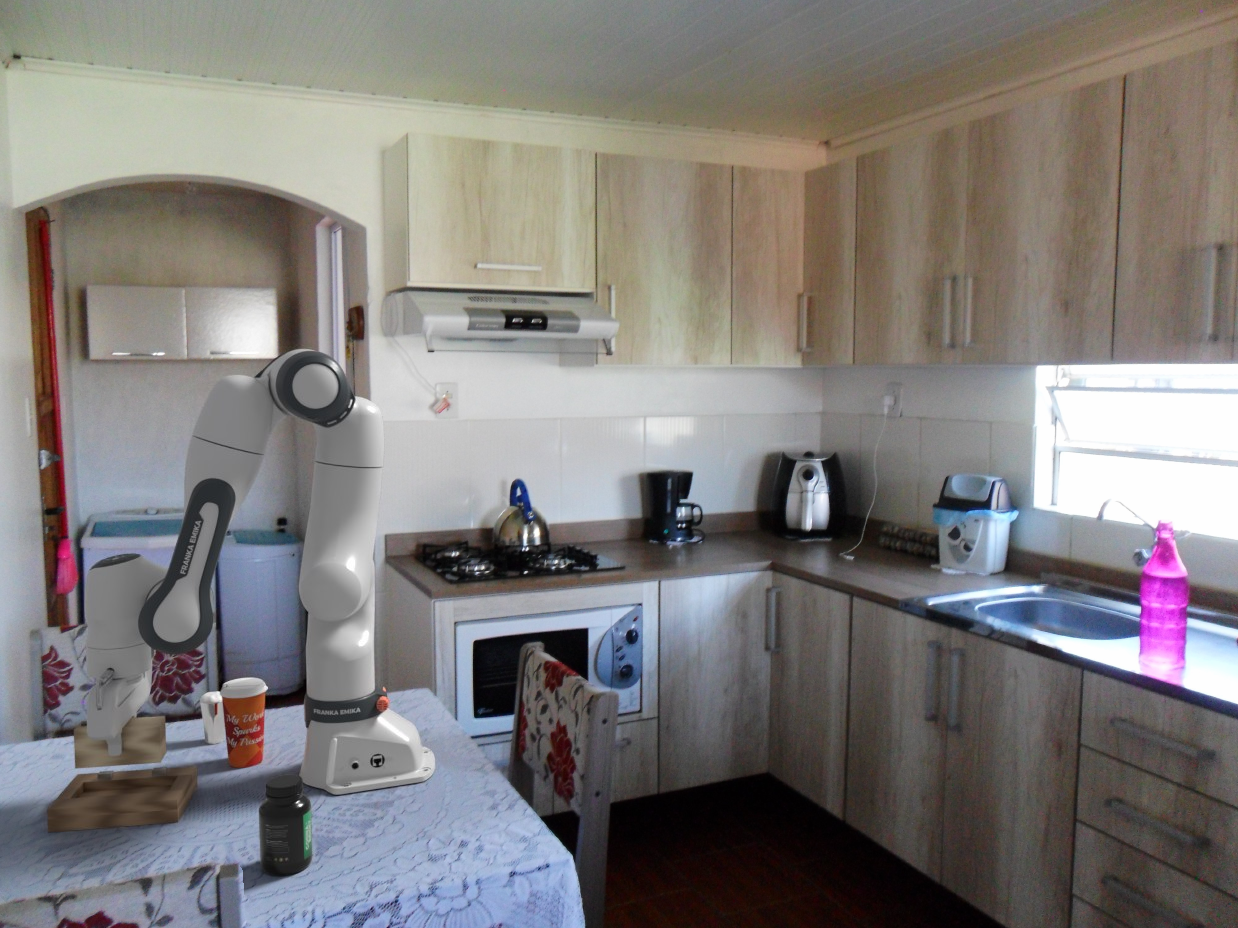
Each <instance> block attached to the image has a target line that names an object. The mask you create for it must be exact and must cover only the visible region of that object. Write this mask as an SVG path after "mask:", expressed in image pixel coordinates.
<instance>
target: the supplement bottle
mask: <svg viewBox="0 0 1238 928" xmlns="http://www.w3.org/2000/svg"><path fill="white" fill-rule="evenodd" d="M264 795H265V799H264V800H263V801H262V802H261V803H260V805H259V809H258V830H259V831H258V832H259V833H258V834H259V835H258V836H259V860H260V861H259V862H260V868H261V870H262V871H263V873H265V874H267V875H270V876H276V877H282V876H285V877H286V876H290V875H294V874H298V873H300V872H302V871H304V870H305V869H306V868H308V867H309V866H310V864H311V863H312V861H313V831H312V830H313V829H312V828H313V827H312V826H313V824H312V802H311V800H310V798H309V797H308V796H307V795H305V794H304V782H303V779H302V777H301V776H299V774H292V773H287V774H279V775H276V776H273V777H271V778H270V779H268V780H266V782H265V793H264Z"/></svg>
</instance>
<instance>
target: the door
mask: <svg viewBox="0 0 1238 928" xmlns="http://www.w3.org/2000/svg"><path fill="white" fill-rule="evenodd" d="M166 730H167V729H166V715H160V716H145V717H143V716H142V717H136V718H131V719H130V720H129V721H128V722H127V723H126V725H125V726H124V727H123V728H122V733H121V738H122V741H124V746H123V747H124V750H123V751H122V753H121V754H120V755H119V756H110V755H109V754H108V744H107V742H106V740H90V739H89V737H88V735H87V720H81V721H80V722H79V723H78V725H77V726H76V727H75V728H74V729H73V745H74V746H73V748H74V749H73V750H74V768H75V769H88V768H103V767H104V768H105V767H117V766H130V765H131V766H133V765H147V764H160V763H162V761H163V760H164V758H165V755H166V754H167V734H166V733H167V731H166Z"/></svg>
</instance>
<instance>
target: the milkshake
mask: <svg viewBox="0 0 1238 928" xmlns="http://www.w3.org/2000/svg"><path fill="white" fill-rule="evenodd" d="M199 704H200V710H201V716H202V725H203V733H204V734H203V735H204V742H205V743H206V744H208V745H216V744H220V743H223V742H224V741H225V735H226V732H225V722H224V712H223V702H222V696H221V695H220V691H208V692H205V693H204V694H202V695H201V697H200V699H199Z"/></svg>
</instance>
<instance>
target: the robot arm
mask: <svg viewBox="0 0 1238 928" xmlns="http://www.w3.org/2000/svg"><path fill="white" fill-rule="evenodd" d="M287 417H291V418H297V419H302V420H305V421H306V422H307V421H308V422H310V423H311V424H312V425H313V427H314V430H315V436H316V447H315V455H314V464H313V473H312V474H313V477H312V484H311V497H310V506H309V507H310V508H309V513H308V519H307V525H306V532H305V537H304V544H303V551H302V557H301V564H300V572H299V581H298V593H299V597H300V601H301V603H302V606H303V608H304V609H305V610H306V611H307V612H308V613H307V631H306V633H307V634H306V642H305V643H306V644H305V660H306V661H305V663H306V664H305V665H306V666H305V667H306V669H305V670H306V692H305V695H304V700H303V719H304V724H305V728H306V733H305V734H306V735H305V736H306V737H305V745H304V753H303V758H302V763H301V766H300V771H299V774H298V775H299V776H301V777H302V779H303V784H305V785H307V786H310V787H314V788H318V789H322V790H325V791H327V792H328V793H329V794H332V795H336V796H337V795H345V794H351V793H357V792H364V791H370V790H371V791H373V790H376V789H377V790H378V789H384V788H389V787H390V788H391V787H396V786H403V785H409V784H416V783H422V782H425V781H426V780H428V779H430V777H432V775H433V774H434V772H435V770H436V759H435V758H436V757H435V754H434V752H433V751H432V749H430V748H429V747H426V746H425V745H424V746H423V745H422V744H423V743H422V740H421V735H420V734H419V731H418V728H417V727H416V726H415V724H414V723H413V722H411V721H409V720H408V719H406V718H404V717H403V716H401V715H400V714H398V713H397V712H395V711H393V710H391V709H390V708H389V706H390V699H389V698H388V693H387V690H386V688H385V687H384V686H383V687H382V689H381V688H380V687H379V686H376V682H375V681H376V677H375V674H376V673H375V615H376V613H375V612H376V611H375V610H376V609H375V607H376V605H375V604H376V568H375V567H376V566H375V561H374V551H375V546H376V545H375V543H376V537H377V536H376V535H377V528H378V520H379V516H380V515H379V514H380V504H381V493H382V483H383V474H384V462H385V461H384V460H385V427H384V419H383V418H384V416H383V413H382V410H381V408H380V407H379V406H378V405H377V404H376V403H374V402H373V401H372V400H370V399H367V398H365V397H361V396H356V395H355V394H354V391H353V389H352V387H351V385H350V382H349V381H348V377H347V376H346V373H345V371H344V370H343V367H341V365H340V364H339V363H338V362H337V360H335V359H334V357H331V356H330V355H329V354H326V353H324V352H321V351H317V350H316V349H315V350H313V349H310V348H308V349H307V348H296V349H293V350H290V351H286V352H283V353H281V354H280V355H278V356H276V357H275V358H273V360H271V361H270V362H269V363H268V364H267V365H266V366H265V367H264V368H262V369H261V370H260V371H259V372H258V373H257V374H256V375H254V376H250V375H245V374H230V375H225V376H223V377H221V378H219V379H218V380H217V381H216V382H215V383H214V385H213V387H212V388H211V389H210V391H209V393H208V395H207V397H206V399H205V401H204V403H203V406H202V407H201V410H200V412H199V415H198V417H197V419H196V423H195V425H194V428H193V431H192V435H191V438H190V441H189V445H188V449H187V454H186V458H185V464H184V465H185V467H184V477H183V478H184V479H183V480H184V482H183V488H184V489H183V490H184V491H183V492H184V493H183V494H184V495H183V497H184V499H183V500H184V501H183V516H182V521H181V526H180V529H179V532H178V536H177V540H176V544H175V546H174V549H173V553H172V556H171V559H170V562H169V566H168V567H166V566H163V565H161V564H158V563H155V562H153V561H151V560H150V559H147V557H145V556H143V555H142V554H140V553H122V554H117V555H113V556H109V557H105V558H104V559H101V560H99V561H97V562H95V563H94V564H93V565H91V567H90V568H89V570H88V571H87V573H86V576H85V577H86V578H85V585H84V603H83V604H84V618H85V621H86V624H87V630H88V631H87V636H86V639H85V659H86V660H85V661H86V663H85V665H86V675H87V676H88V677H89V678H92V679H95V681H96V683H95V684H94V685H93V686H92V687H91V688H90V690H89V691H88V696H87V705H86V721H87V735H88V737H89V739H90V740H106V742H107V744H108V754H109V755H110V756H119V755H120V754H121V753H122V751H123V750H124V747H123V746H124V741H122V738H121V733H122V728H123V727H124V726H125V725H126V723H127V722H128V721H129V720H130V719H131V718H137V714H138V713H137V712H138V711H139V709H140V708H141V707H142V706H143V704H144V703H145V702H147V700H148V699H149V697H150V694H151V689H152V679H153V678H152V677H153V676H152V675H153V658H154V657H155V656H156V651H157V652H158V653H160V654H164V655H170V656H171V655H174V656H175V655H183V654H187V653H190V652H192V651H194V650H196V649H197V648H199V647H201V646H202V645H203V644H204V643H205V641H207V639H208V638H209V636H210V634H211V633H212V630H213V626H214V611H213V610H214V599H215V598H214V591H213V589H212V583H213V579H214V575H215V571H216V568H217V566H218V561H219V558H220V555H221V552H222V548H223V545H224V543H225V538H226V535H227V533H228V531H229V528H230V525H231V523H232V522H233V520H234V518H235V516H236V514H237V513H238V511H239V509H240V508H241V506H242V504H243V503H244V501H245V500H246V497H247V496H248V494H249V492H251V489H252V487H253V485H254V483H255V481H256V479H257V477H258V474H259V472H260V469H261V467H262V464H263V461H264V458H265V454H266V453H267V448H268V444H269V441H270V437H271V435H272V434H273V431H274V429H275V427H276V426H277V425H278V424H279V422H280V421H283V420H284V419H285V418H287Z"/></svg>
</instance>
